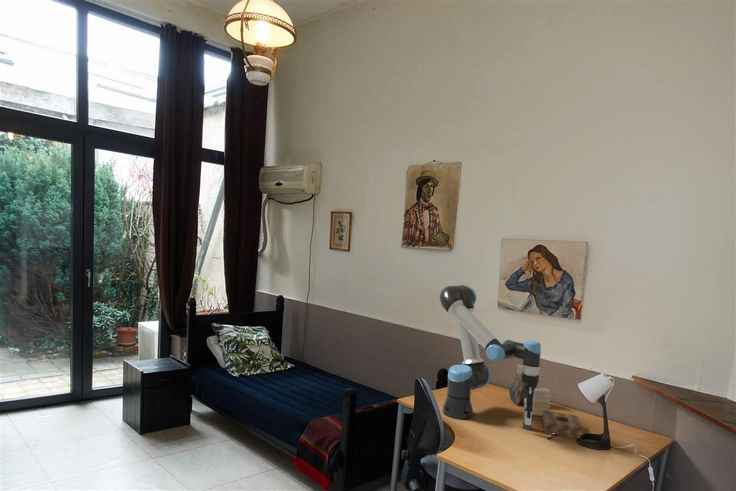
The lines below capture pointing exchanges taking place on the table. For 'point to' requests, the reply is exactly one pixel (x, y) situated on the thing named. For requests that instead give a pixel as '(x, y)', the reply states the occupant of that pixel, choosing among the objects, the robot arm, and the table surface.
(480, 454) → the table surface
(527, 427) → the marker peg
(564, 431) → the socket board
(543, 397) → the supplement box
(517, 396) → the brown rock
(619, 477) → the table surface
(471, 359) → the robot arm
